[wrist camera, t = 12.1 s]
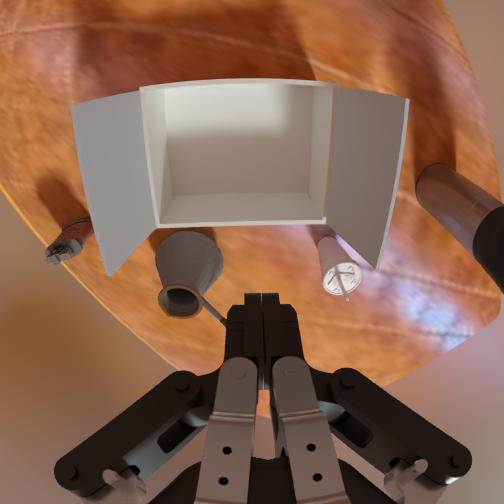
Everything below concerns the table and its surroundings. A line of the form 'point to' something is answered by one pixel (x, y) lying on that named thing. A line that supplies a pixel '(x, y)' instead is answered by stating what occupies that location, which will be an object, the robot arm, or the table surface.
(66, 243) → the lighter
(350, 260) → the smoothie
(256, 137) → the carton
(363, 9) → the table surface
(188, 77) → the table surface
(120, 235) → the flap
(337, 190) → the flap
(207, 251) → the coffee pot
